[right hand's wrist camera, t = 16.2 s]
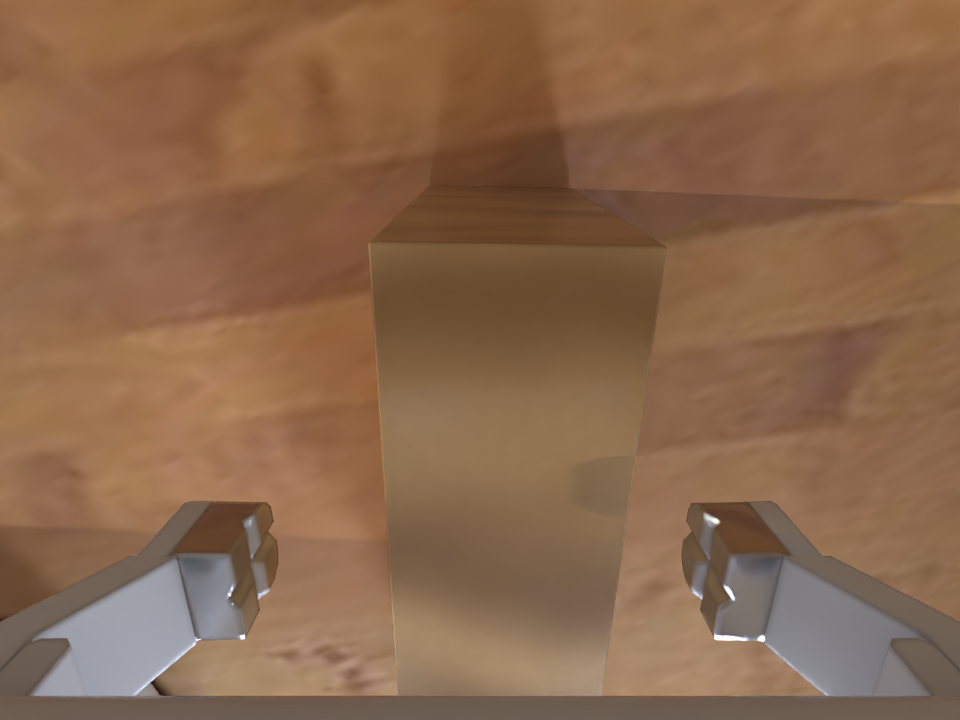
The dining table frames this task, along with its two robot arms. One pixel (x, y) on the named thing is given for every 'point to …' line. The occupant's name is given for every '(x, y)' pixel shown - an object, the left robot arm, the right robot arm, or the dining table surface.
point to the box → (508, 432)
